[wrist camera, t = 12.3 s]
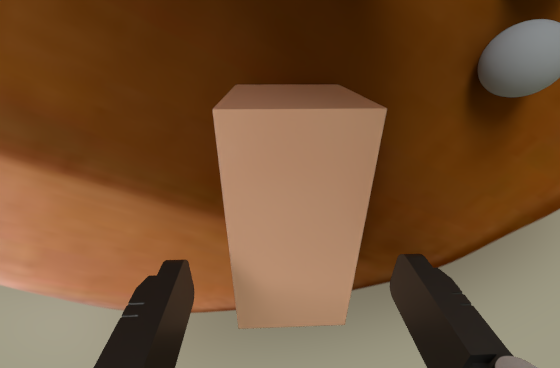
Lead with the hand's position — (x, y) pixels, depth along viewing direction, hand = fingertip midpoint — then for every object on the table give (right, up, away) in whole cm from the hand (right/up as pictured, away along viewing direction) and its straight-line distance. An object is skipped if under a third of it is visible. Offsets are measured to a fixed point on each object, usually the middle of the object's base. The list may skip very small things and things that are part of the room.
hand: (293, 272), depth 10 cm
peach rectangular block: (0, +4, +8) cm, 9 cm away
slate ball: (+12, +11, +5) cm, 17 cm away
